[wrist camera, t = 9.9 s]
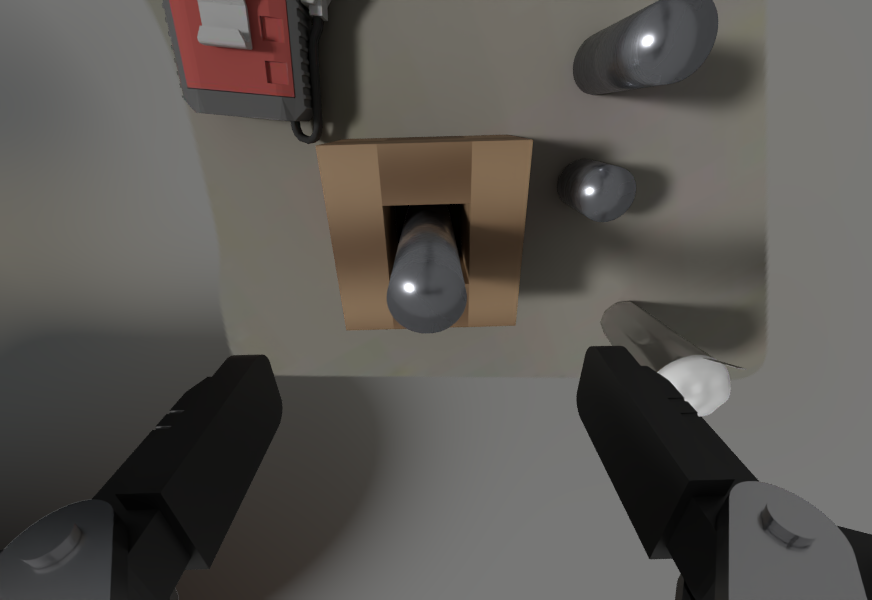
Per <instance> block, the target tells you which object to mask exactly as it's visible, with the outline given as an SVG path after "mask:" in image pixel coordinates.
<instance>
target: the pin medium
mask: <svg viewBox="0 0 872 600" xmlns="http://www.w3.org/2000/svg"><path fill="white" fill-rule="evenodd" d="M717 30H718V14H717V10H716V7H715V4H714V2H713V1H712V0H659V1H657V2H655V3H653V4H651V5H649V6H647V7H645V8H644V9H642V10H640V11H638V12H636V13H634V14H632V15H630V16H628V17H626V18H624V19H622V20H620V21H619V22H617V23H615V24H613V25H611V26H609V27H607V28H605V29H603V30H601V31H599V32H597V33H596V34H594V35H592V36H590V37H589V38H588V39H587V40H586V41H584V43H583V44H582V45H581V46H580V48H579V50H578V51H577V54H576V56H575V59H574V64H573V76H574V80H575V82H576V84H577V86H578V87H579V88H580V89H581V90H582V91H583V92H585V93H587V94H591V95H598V94H605V93H611V92H618V91H625V90H631V89H638V88H645V87H651V86H658V85H665V84H671V83H675V82H678V81H681V80H683V79H685V78H687V77H688V76H690V75H691V74H692V73H694V72H695V71H696V70H697V69H698V68H699V67H700V66H701V65H702V63H703V62H704V61H705V59H706V58H707V56H708V55H709V53H710V51H711V49H712V47H713V45H714V42H715V39H716V35H717Z"/></svg>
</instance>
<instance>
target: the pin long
mask: <svg viewBox="0 0 872 600" xmlns="http://www.w3.org/2000/svg"><path fill="white" fill-rule="evenodd" d="M386 297H387V306H388V309H389V311H390V313H391V315H392V316H393V318H394V319H395V320H396V321H397V322H398V323H399V324H400V325H402V326H403V327H405V328H407V329H409V330H411V331H414V332H418V333H435V332H439V331H443V330H445V329H447V328H449V327H450V326H452V325H453V324H455V323H456V322H457V321H458V320H459V318H460V317H461V316H462V314H463V312H464V310H465V307H466V303H467V293H466V288H465V283H464V278H463V274H462V269H461V264H460V260H459V255H458V250H457V245H456V241H455V236H454V231H453V227H452V222H451V217H450V212H449V209H448V207H447V206H446V204H427V205H410V206H409V208H408V210H407V213H406V217H405V221H404V225H403V229H402V233H401V237H400V241H399V245H398V249H397V253H396V257H395V261H394V265H393V269H392V273H391V277H390V281H389V285H388V289H387V296H386Z"/></svg>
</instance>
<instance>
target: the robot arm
mask: <svg viewBox="0 0 872 600" xmlns="http://www.w3.org/2000/svg"><path fill="white" fill-rule="evenodd" d="M577 408H578V412H579V416H580V418H581V420H582V422H583V424H584V426H585V428H586V430H587V432H588V434H589V437H590V438H591V441H592V442H593V445H594V447H595V449H596V451H597V453H598V455H599V457H600V459H601V461H602V463H603V465H604V467H605V469H606V471H607V473H608V475H609V477H610V479H611V481H612V483H613V485H614V488H615V490H616V492H617V494H618V496H619V498H620V500H621V502H622V504H623V506H624V508H625V510H626V512H627V514H628V516H629V518H630V520H631V522H632V524H633V526H634V528H635V530H636V532H637V535H638V536H639V539H640V541H641V543H642V545H643V547H644V549H645V551H646V553H647V555H648V557H649V559H670V558H671V559H673V560H674V562H675V564H676V566H677V567H678V569H679V571H680V573H681V574H680V576H679V578H678V581H677V586H676V595H675V600H872V535H871V534H867V533H863V532H859V531H855V530H851V529H847V528H843V527H839V526H836V525H835V524H834V523H833V522H832V521H831V520H830V519H829V518H828V517H827V516H826V515H825V514H824V513H822V512H821V511H820V510H819V509H817V508H816V507H814V506H813V505H812V504H810V503H809V502H807V501H806V500H804V499H803V498H801V497H799V496H797V495H795V494H794V493H791V492H789V491H787V490H785V489H783V488H780V487H777V486H775V485H772V484H768V483H763V482H759V481H758V480H757V479H756V477H755V476H754V475H753V474H752V473H751V472H750V471H749V470H748V469H747V467H746V466H745V465H744V464H743V463H742V462H741V461H740V460H739V458H738V457H737V456H736V455H735V454H734V453H733V452H732V451H731V449H730V448H729V447H728V446H727V445H726V444H725V443H724V442H723V440H722V439H721V438H720V437H719V436H718V435H717V434H716V433H715V431H714V430H713V429H712V428H711V427H710V426H709V425H708V424H707V423H706V421H705V420H704V419H703V418H702V417H701V416H700V417H699V416H698V414H697V413H698V412H697V411H696V410H695V409H694V408H693V407H692V406H691V405H690V403H689V402H688V401H685V400H684V397H683V396H682V394H681V393H680V392H679V391H678V390H677V389H676V388H675V387H674V385H673V384H672V383H671V382H670V381H669V380H668V379H666V378H665V377H663V376H662V375H660V374H659V373H657V372H656V371H654V370H653V369H651V368H650V367H648V366H641V365H640V364H639V363H638V362H637V361H636V359H635V358H634V357H633V356H632V355H631V353H630V352H629V351H628V350H627V349H626V348H625V347H624V346H591V347H589V348H588V349H587V351H586V354H585V359H584V363H583V368H582V372H581V377H580V381H579V386H578V390H577ZM281 417H282V400H281V397H280V393H279V390H278V387H277V384H276V381H275V377H274V374H273V371H272V368H271V365H270V362H269V359H268V358H267V357H266V356H265V355H233V356H230V357H229V358H227V359H226V360H225V362H224V363H223V364H222V365H221V367H220V368H219V369H218V370H217V371H216V373H215V374H214V375H213V376H212V377H207V378H205V379H204V380H203V381H201V382H200V383H198V384H197V385H195V386H194V387H192V388H191V389H190V390H188V391H187V392H186V393H185V394H184V395H183V396H182V397H181V398H180V399H179V400H178V402H177V403H176V404H175V405H174V406H173V407H172V408H171V410H170V413H169V414H166V415H165V416H164V418H163V419H162V420H161V421H160V422H159V423H158V424H157V426H156V430H152V431H151V432H150V433H149V435H148V436H147V437H146V438H145V439H144V440H143V441H142V443H141V444H140V445H139V446H138V447H137V448H136V449H135V451H134V452H133V453H132V454H131V455H130V456H129V458H128V459H127V460H126V461H125V462H124V463H123V464H122V465H121V467H120V468H119V469H118V470H117V471H116V472H115V474H114V475H113V476H112V477H111V478H110V479H109V480H108V481H107V482H106V484H105V485H104V486H103V487H102V488H101V489H100V490H99V492H98V493H97V494H96V495H95V496H94V497H93V498H92V499H90V500H84V501H79V502H76V503H73V504H70V505H67V506H65V507H62V508H60V509H58V510H56V511H54V512H52V513H50V514H49V515H47V516H45V517H43V518H42V519H40V520H39V521H37V522H36V523H34V524H33V525H31V526H30V527H29V528H27V529H26V530H25V531H24V532H22V533H21V534H20V535H19V536H17V537H16V538H15V539H14V540H13V541H12V542H11V543H10V544H9V545H8V546H7V547H6V548H5V549H3V550H0V600H179V598H178V593H177V591H176V589H175V587H176V585H177V583H178V581H179V579H180V577H181V575H182V574H183V572H184V570H189V569H190V570H191V569H210V567H211V565H212V562H213V560H214V558H215V556H216V554H217V552H218V550H219V548H220V546H221V544H222V542H223V540H224V538H225V535H226V534H227V532H228V529H229V528H230V525H231V523H232V521H233V519H234V517H235V515H236V513H237V511H238V509H239V507H240V505H241V503H242V500H243V499H244V497H245V495H246V493H247V490H248V488H249V486H250V484H251V482H252V480H253V478H254V476H255V474H256V472H257V470H258V468H259V466H260V464H261V462H262V460H263V457H264V455H265V453H266V451H267V449H268V447H269V445H270V443H271V441H272V439H273V437H274V435H275V433H276V431H277V429H278V427H279V424H280V421H281Z"/></svg>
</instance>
